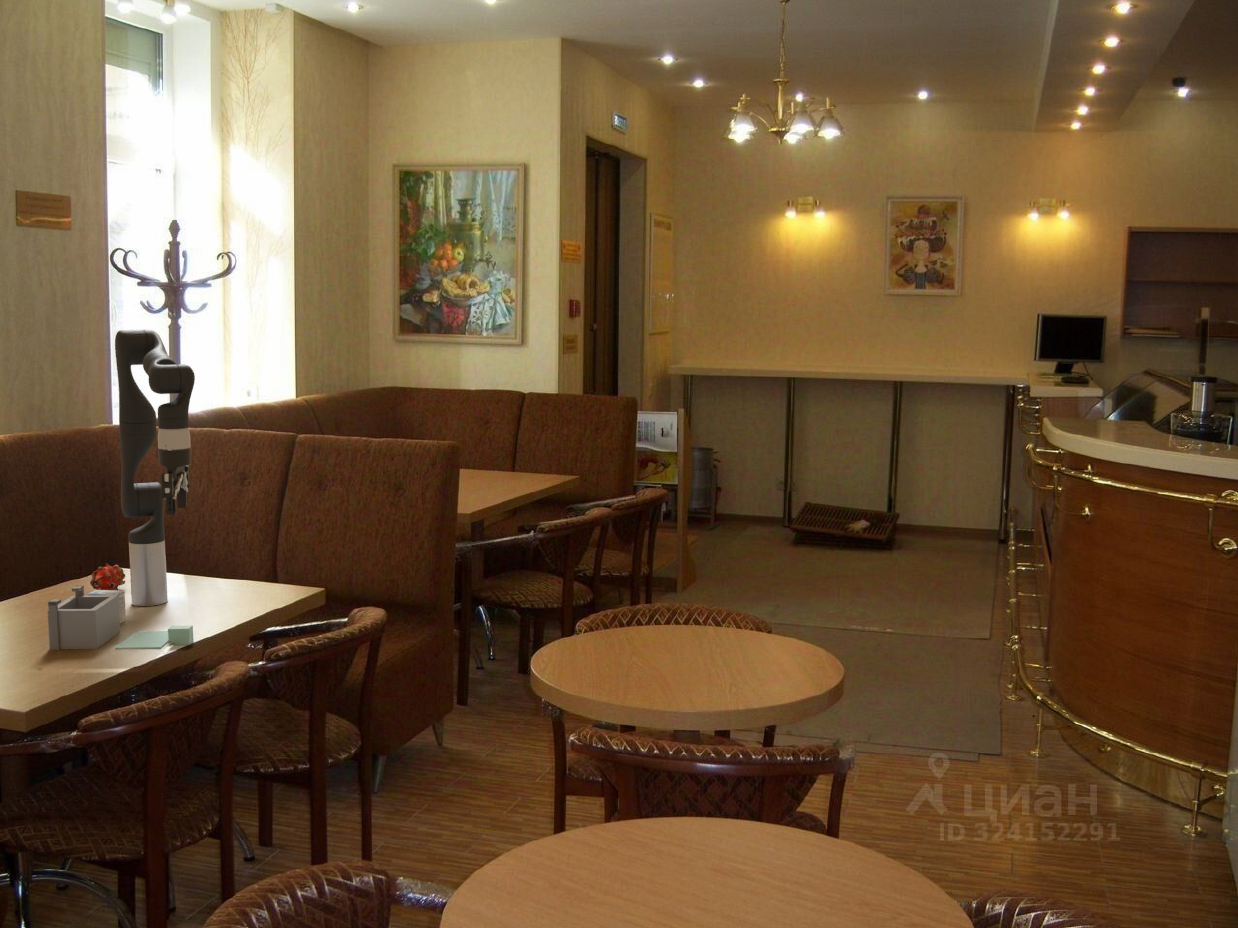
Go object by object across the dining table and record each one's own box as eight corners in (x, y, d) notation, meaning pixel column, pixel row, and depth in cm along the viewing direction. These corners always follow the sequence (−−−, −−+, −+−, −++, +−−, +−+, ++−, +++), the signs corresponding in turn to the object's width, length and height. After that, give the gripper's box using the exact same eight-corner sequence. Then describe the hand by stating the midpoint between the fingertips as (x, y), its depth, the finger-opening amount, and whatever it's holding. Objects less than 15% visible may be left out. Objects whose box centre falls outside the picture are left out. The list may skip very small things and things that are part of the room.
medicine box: (126, 623, 310) (125, 590, 309) (118, 627, 305) (116, 594, 304) (97, 622, 311) (96, 589, 309) (88, 626, 306) (86, 593, 305)
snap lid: (136, 636, 298) (135, 620, 298) (200, 634, 299) (199, 619, 298) (115, 652, 284) (114, 636, 283) (182, 651, 284) (181, 635, 284)
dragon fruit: (126, 592, 349) (98, 607, 338) (104, 574, 350) (75, 589, 339) (137, 571, 346) (109, 586, 335) (115, 553, 347) (85, 567, 336)
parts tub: (76, 633, 299) (73, 585, 297) (121, 633, 300) (119, 585, 298) (48, 653, 283) (45, 602, 281) (96, 652, 283) (93, 601, 282)
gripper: (168, 442, 301) (170, 505, 304) (149, 450, 287) (152, 516, 290) (198, 442, 302) (201, 505, 304) (180, 450, 288) (183, 516, 290)
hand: (177, 511), depth 297 cm, fingers open, 8 cm apart
